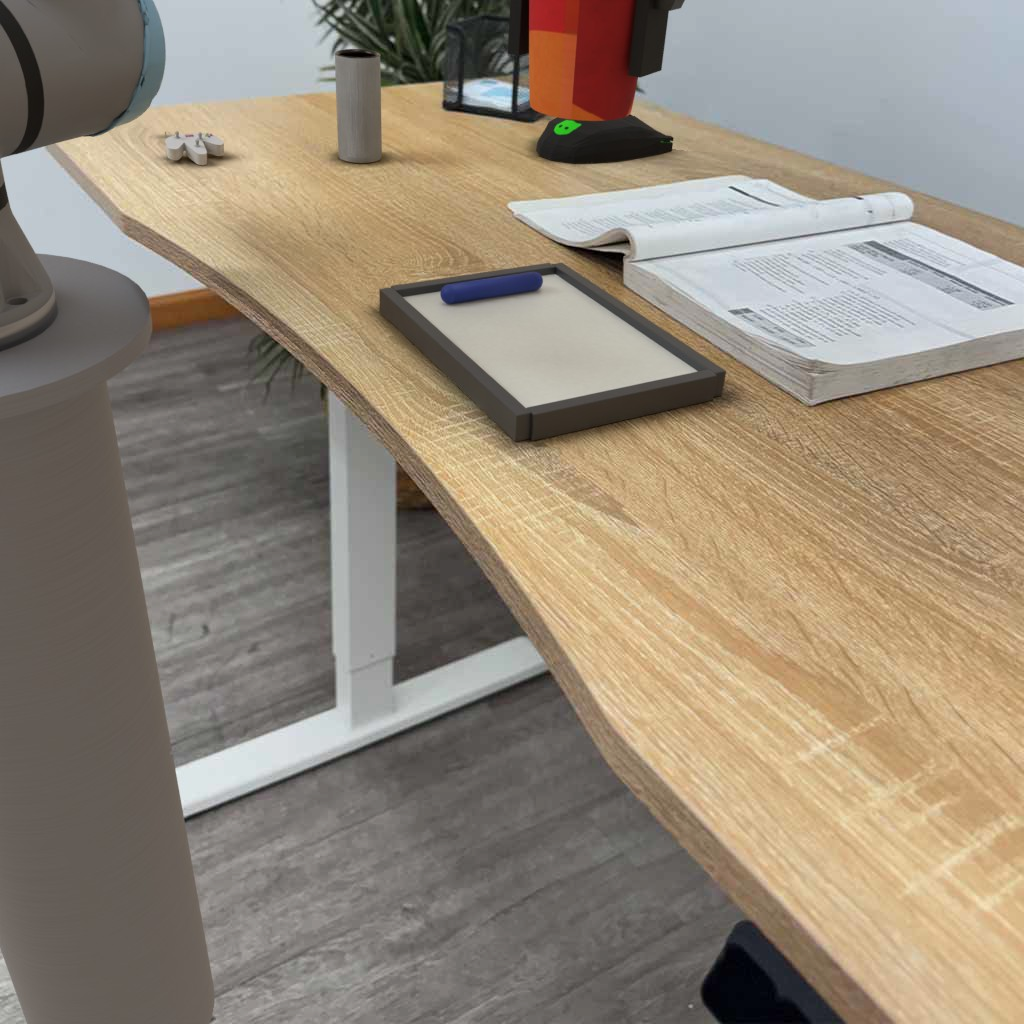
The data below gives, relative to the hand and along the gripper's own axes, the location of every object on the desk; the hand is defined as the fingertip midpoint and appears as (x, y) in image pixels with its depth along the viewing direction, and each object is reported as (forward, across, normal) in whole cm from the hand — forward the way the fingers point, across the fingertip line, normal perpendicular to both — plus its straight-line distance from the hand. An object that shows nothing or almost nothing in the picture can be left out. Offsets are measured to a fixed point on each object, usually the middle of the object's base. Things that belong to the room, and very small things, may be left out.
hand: (583, 61), depth 60 cm
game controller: (+20, +57, -22) cm, 65 cm away
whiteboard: (+20, +3, -2) cm, 20 cm away
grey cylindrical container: (+20, +42, -32) cm, 57 cm away
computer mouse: (+20, +26, -54) cm, 63 cm away
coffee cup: (+3, 0, 0) cm, 3 cm away
